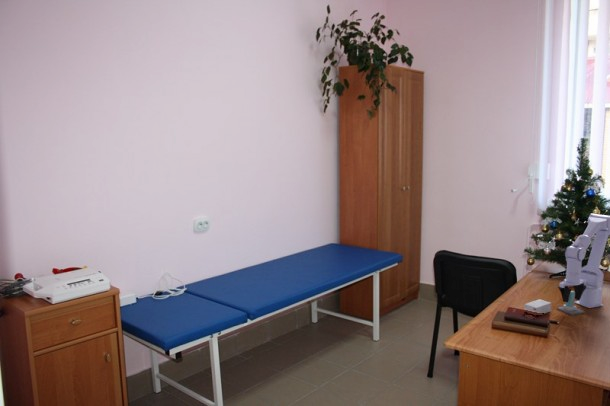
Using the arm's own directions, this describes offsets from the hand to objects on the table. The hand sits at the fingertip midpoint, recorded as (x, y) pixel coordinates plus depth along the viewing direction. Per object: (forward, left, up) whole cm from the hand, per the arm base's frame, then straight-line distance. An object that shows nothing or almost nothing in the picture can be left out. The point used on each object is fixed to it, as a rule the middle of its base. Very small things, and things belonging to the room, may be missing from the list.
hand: (571, 300), depth 215 cm
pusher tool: (0, -1, -4) cm, 4 cm away
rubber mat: (0, 0, -5) cm, 5 cm away
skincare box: (+9, -6, -3) cm, 11 cm away
